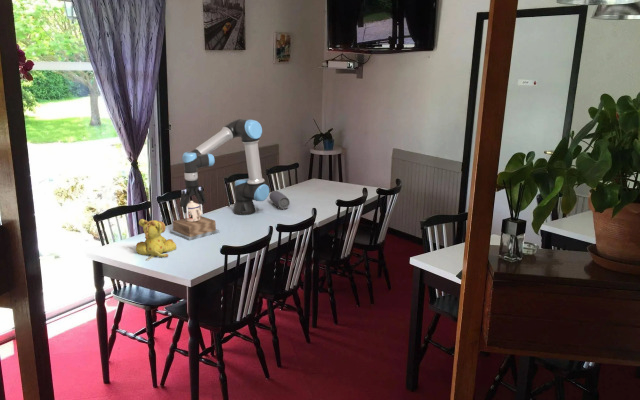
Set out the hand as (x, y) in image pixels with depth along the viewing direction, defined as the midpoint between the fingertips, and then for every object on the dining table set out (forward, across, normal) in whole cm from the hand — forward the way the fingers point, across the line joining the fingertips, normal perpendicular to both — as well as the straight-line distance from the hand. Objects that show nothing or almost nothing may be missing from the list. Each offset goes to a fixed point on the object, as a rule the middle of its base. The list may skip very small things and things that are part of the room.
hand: (193, 216), depth 311 cm
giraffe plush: (+11, -34, -15) cm, 38 cm away
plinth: (+10, 0, 0) cm, 10 cm away
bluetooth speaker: (+11, +77, +10) cm, 78 cm away
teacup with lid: (+3, 0, 0) cm, 3 cm away
